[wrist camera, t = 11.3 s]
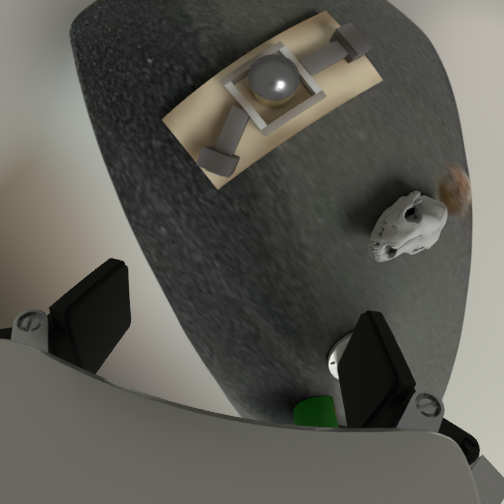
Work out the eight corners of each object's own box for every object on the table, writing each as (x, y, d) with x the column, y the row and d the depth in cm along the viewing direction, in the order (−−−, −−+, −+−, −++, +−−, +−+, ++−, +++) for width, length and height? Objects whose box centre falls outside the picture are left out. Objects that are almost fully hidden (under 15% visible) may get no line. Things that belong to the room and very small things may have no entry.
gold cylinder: (301, 94, 26) (310, 81, 20) (270, 116, 27) (269, 109, 21) (276, 65, 25) (278, 46, 18) (245, 87, 26) (237, 72, 20)
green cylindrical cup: (332, 418, 51) (341, 495, 32) (293, 422, 52) (294, 500, 33) (337, 393, 47) (350, 481, 28) (292, 398, 48) (294, 488, 30)
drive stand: (377, 83, 26) (396, 74, 20) (220, 186, 33) (210, 196, 27) (323, 16, 23) (331, -4, 17) (167, 120, 30) (147, 117, 24)
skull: (452, 233, 30) (430, 290, 25) (399, 229, 37) (365, 278, 32) (446, 180, 27) (425, 227, 22) (388, 181, 34) (350, 223, 29)
